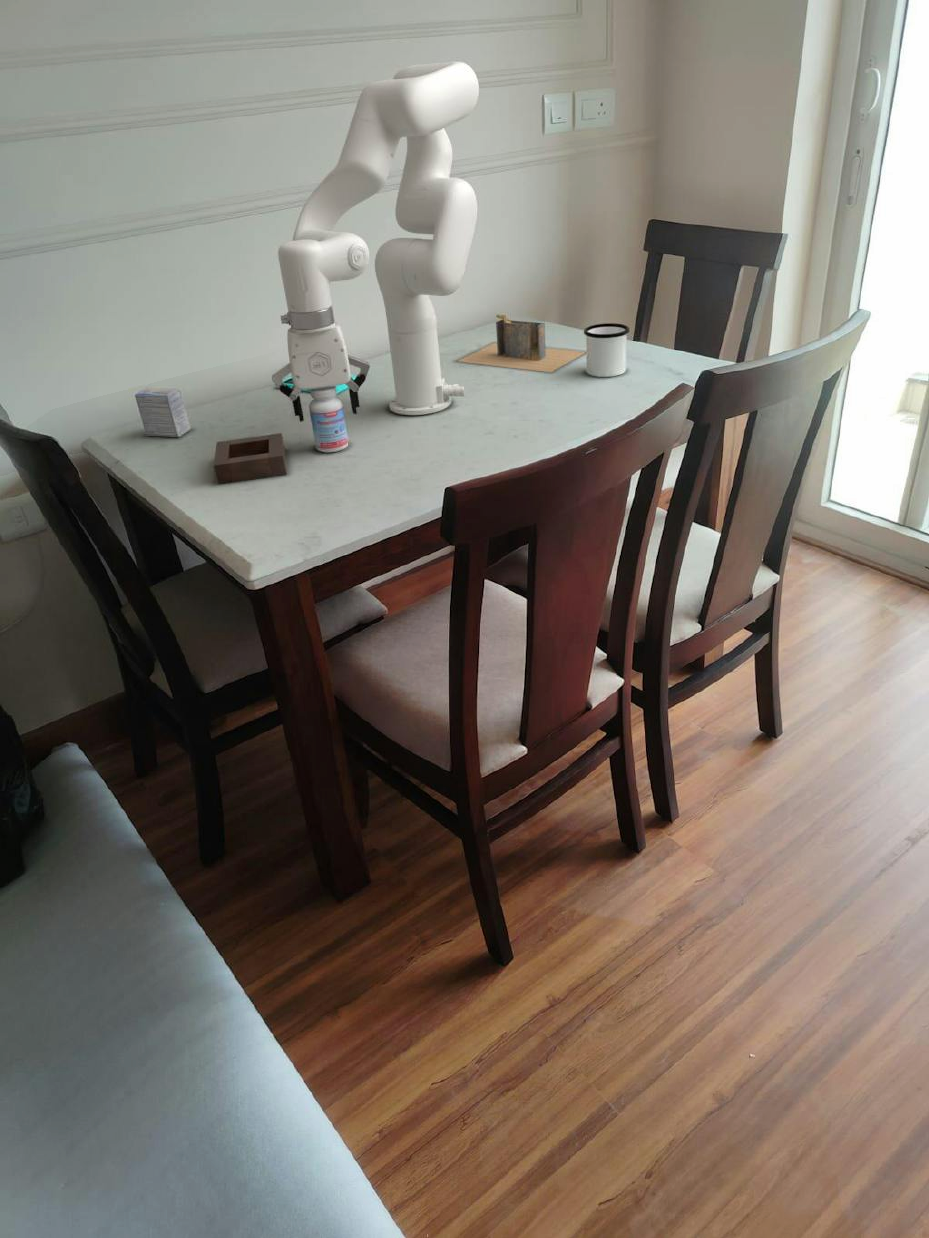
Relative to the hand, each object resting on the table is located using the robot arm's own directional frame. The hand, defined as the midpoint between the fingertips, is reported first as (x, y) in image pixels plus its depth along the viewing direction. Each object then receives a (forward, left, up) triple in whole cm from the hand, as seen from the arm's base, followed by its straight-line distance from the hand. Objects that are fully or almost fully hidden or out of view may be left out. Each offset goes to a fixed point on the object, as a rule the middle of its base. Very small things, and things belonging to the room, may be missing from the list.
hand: (328, 415), depth 160 cm
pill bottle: (0, 0, -6) cm, 6 cm away
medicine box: (+36, -12, -6) cm, 39 cm away
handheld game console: (+11, -39, -6) cm, 41 cm away
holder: (+13, +8, -6) cm, 17 cm away
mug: (-53, -38, -6) cm, 65 cm away
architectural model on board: (-34, -52, -6) cm, 62 cm away
